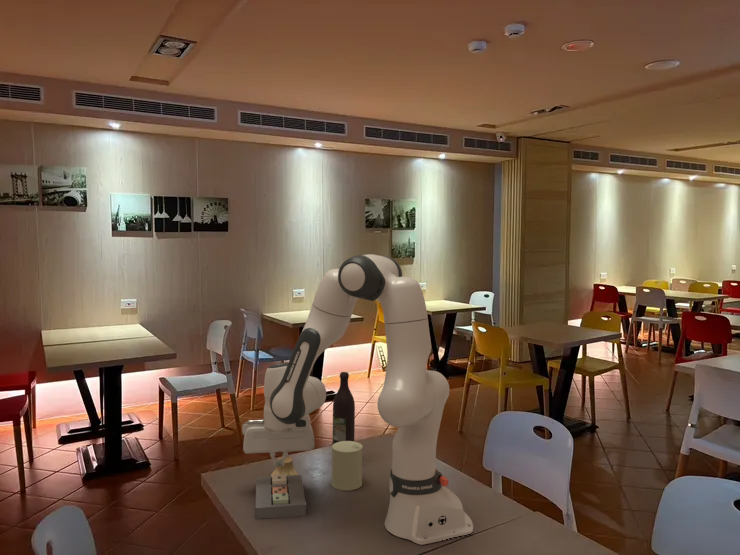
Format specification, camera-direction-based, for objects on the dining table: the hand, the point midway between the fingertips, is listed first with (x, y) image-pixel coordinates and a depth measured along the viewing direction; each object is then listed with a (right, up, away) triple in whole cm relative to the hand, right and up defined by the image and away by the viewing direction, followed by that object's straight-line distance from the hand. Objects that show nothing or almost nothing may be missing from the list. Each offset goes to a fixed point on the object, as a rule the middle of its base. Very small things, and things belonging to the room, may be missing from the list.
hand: (278, 465), depth 163 cm
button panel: (+1, -8, -5) cm, 10 cm away
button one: (0, -6, 0) cm, 6 cm away
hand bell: (0, -7, +11) cm, 13 cm away
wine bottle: (+18, -7, +21) cm, 28 cm away
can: (+19, -8, +6) cm, 22 cm away
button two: (+2, -7, -11) cm, 13 cm away
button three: (+1, -7, -5) cm, 9 cm away
